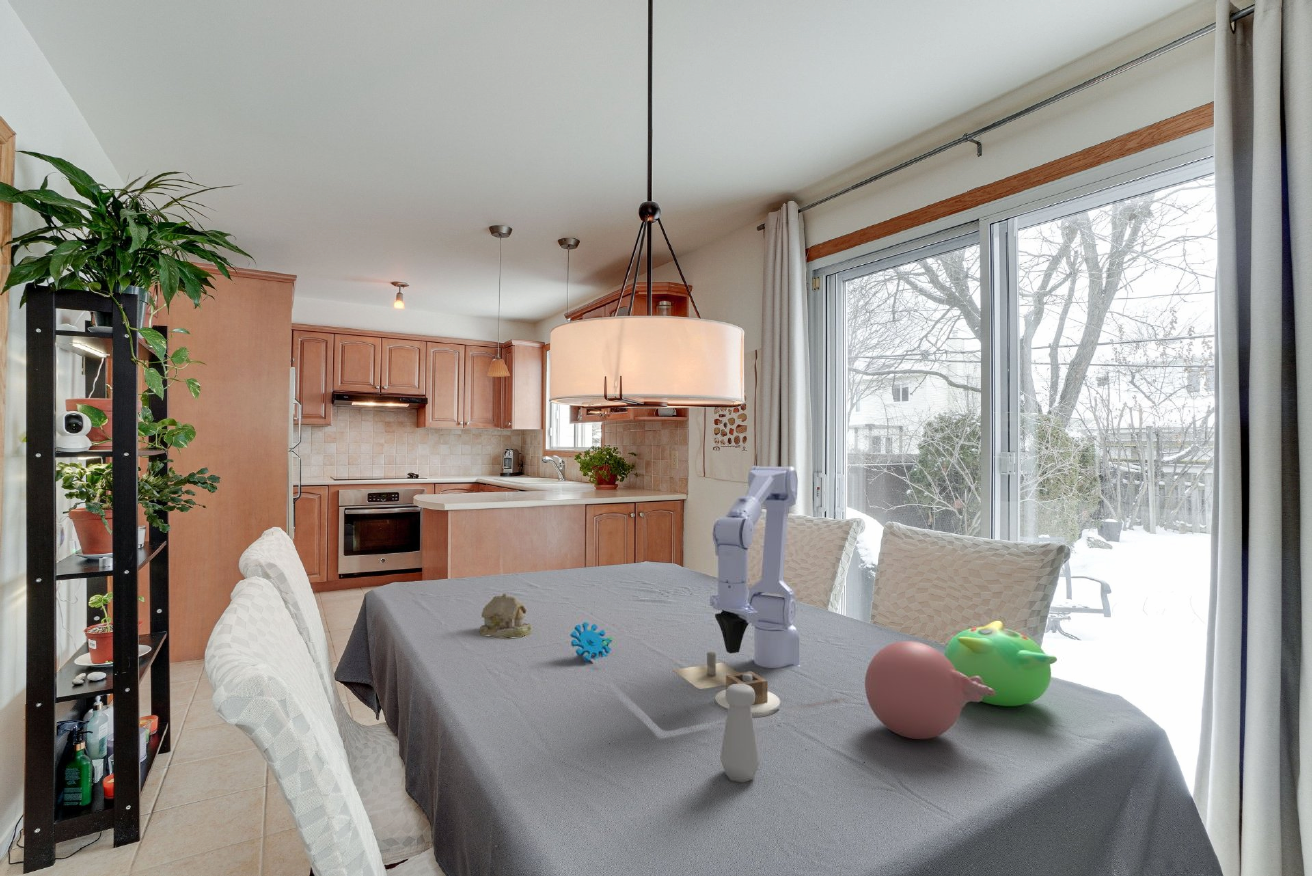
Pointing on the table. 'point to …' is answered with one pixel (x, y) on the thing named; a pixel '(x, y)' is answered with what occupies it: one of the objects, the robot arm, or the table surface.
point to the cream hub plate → (762, 708)
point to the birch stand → (707, 673)
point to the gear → (590, 641)
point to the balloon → (918, 690)
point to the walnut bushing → (757, 684)
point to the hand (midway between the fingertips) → (732, 651)
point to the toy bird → (1002, 663)
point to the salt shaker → (740, 735)
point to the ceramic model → (504, 618)
